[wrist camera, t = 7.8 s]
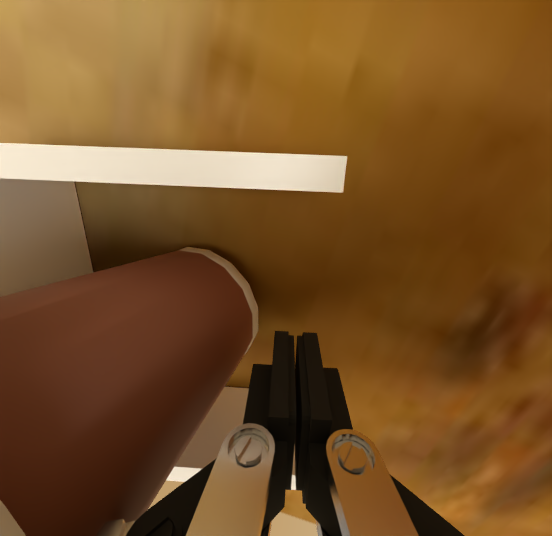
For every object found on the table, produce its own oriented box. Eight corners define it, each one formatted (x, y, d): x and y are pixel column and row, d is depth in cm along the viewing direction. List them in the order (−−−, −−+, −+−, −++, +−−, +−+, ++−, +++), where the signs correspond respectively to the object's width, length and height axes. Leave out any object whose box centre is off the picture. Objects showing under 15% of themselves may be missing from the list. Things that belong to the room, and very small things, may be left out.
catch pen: (325, 160, 12) (347, 156, 8) (302, 403, 17) (307, 490, 13) (46, 149, 13) (-94, 139, 8) (103, 390, 18) (37, 470, 13)
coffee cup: (193, 393, 17) (-132, 765, 6) (110, 266, 16) (-433, 455, 5) (321, 357, 13) (-35, 1325, 2) (217, 180, 12) (-1419, 287, 1)
